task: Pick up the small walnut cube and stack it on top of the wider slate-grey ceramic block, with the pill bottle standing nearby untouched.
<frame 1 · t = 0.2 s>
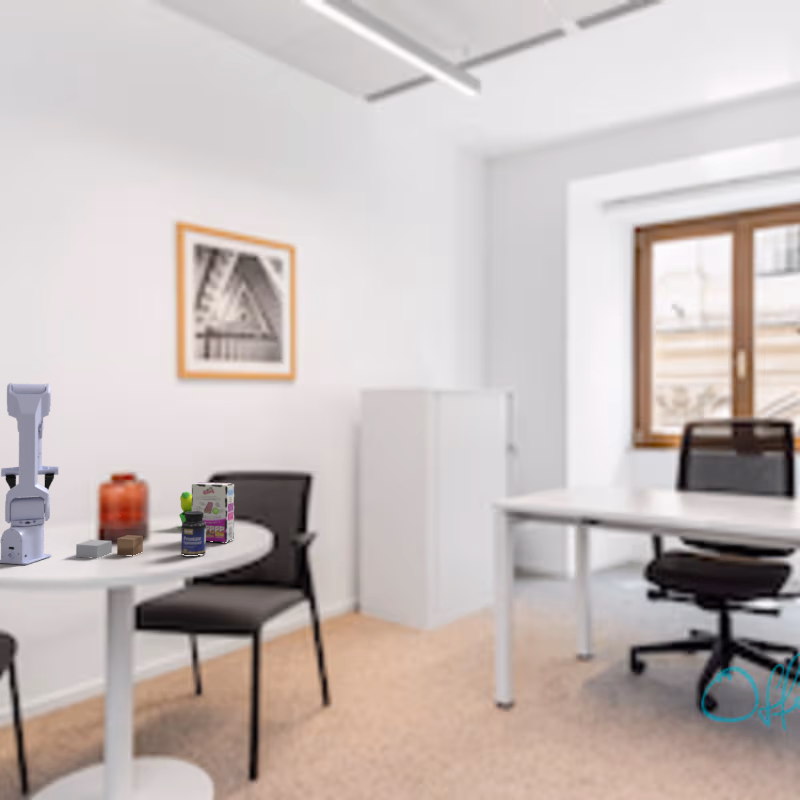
hand: (30, 499, 204), 11 cm above the table, tool pointing down, fingers open, 7 cm apart
pill bottle: (193, 555, 183), on the table
walnut cube: (130, 554, 183), on the table
grey block: (94, 556, 181), on the table
yellow green toy: (194, 528, 219), on the table
candy bar box: (212, 541, 201), on the table
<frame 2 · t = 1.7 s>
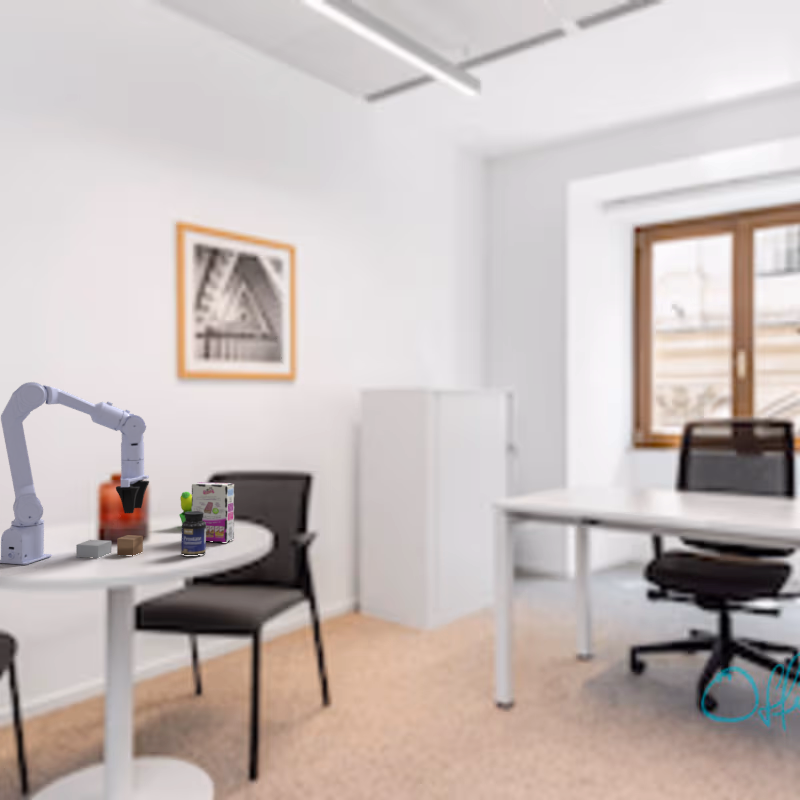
hand: (133, 510, 188), 10 cm above the table, tool pointing down, fingers open, 7 cm apart
nothing on the table moved.
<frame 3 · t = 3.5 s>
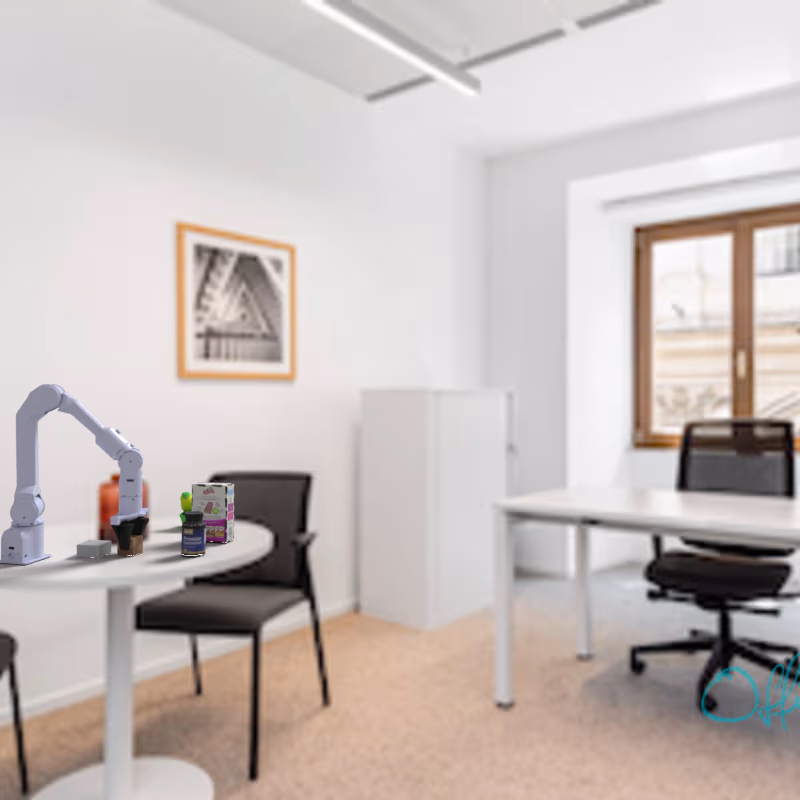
hand: (130, 547, 183), 2 cm above the table, tool pointing down, fingers closed on walnut cube, 4 cm apart
walnut cube: (130, 554, 183), on the table, touching gripper
everything else where it was.
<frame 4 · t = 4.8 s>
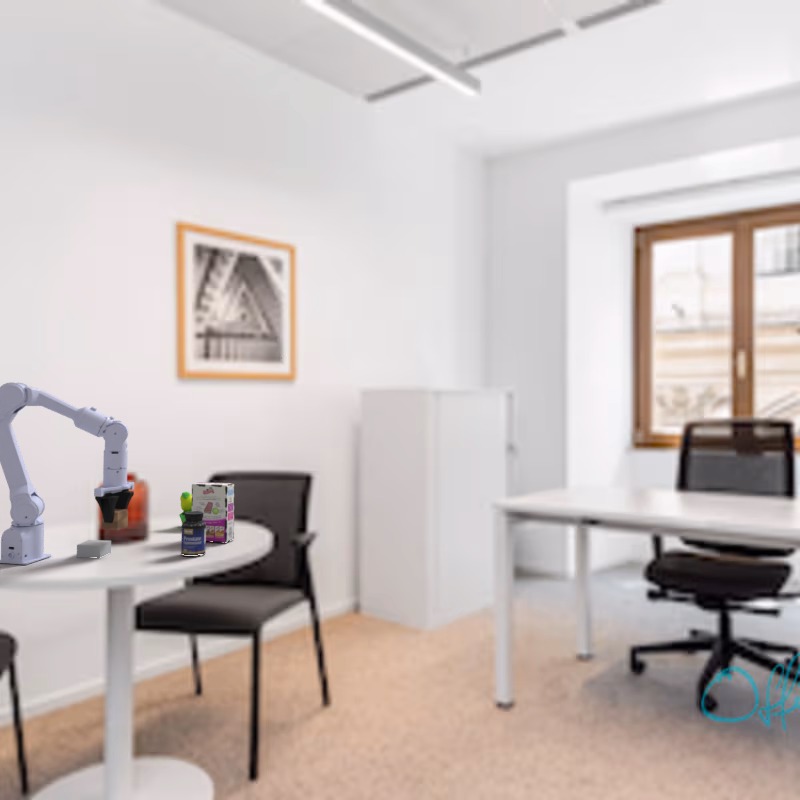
hand: (114, 520, 182), 9 cm above the table, tool pointing down, fingers closed on walnut cube, 4 cm apart
walnut cube: (114, 527, 182), point 7 cm above the table, touching gripper
everything else where it was.
when the fingers open (6 cm above the table, at t = 6.1 s): walnut cube stays where it is, resting on grey block.
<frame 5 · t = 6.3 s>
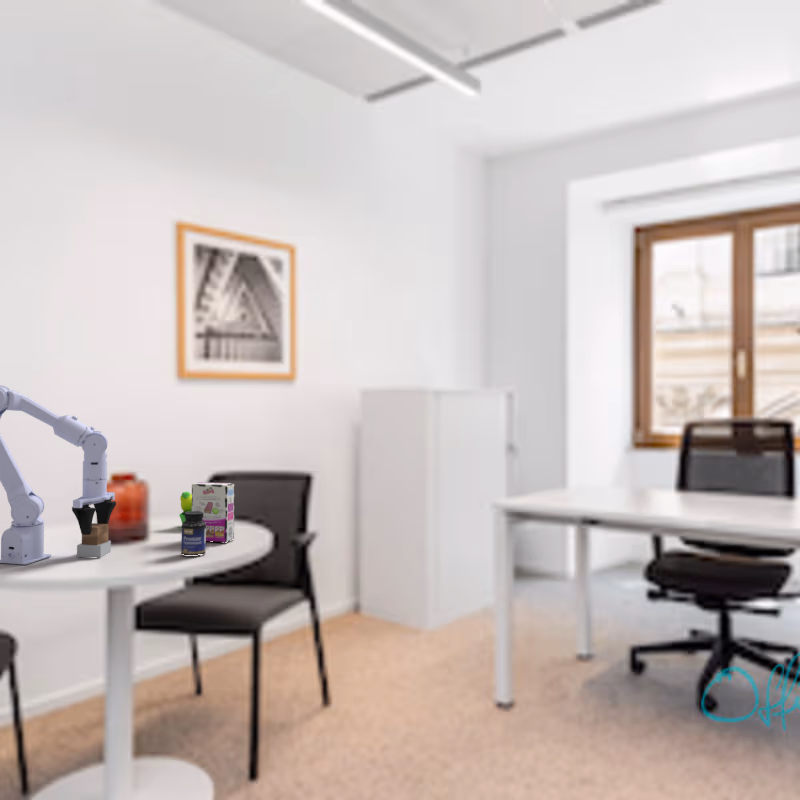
hand: (94, 531, 181), 6 cm above the table, tool pointing down, fingers open, 6 cm apart
walnut cube: (95, 542, 181), point 3 cm above the table, touching grey block
grey block: (94, 556, 181), on the table, touching walnut cube
everything else where it was.
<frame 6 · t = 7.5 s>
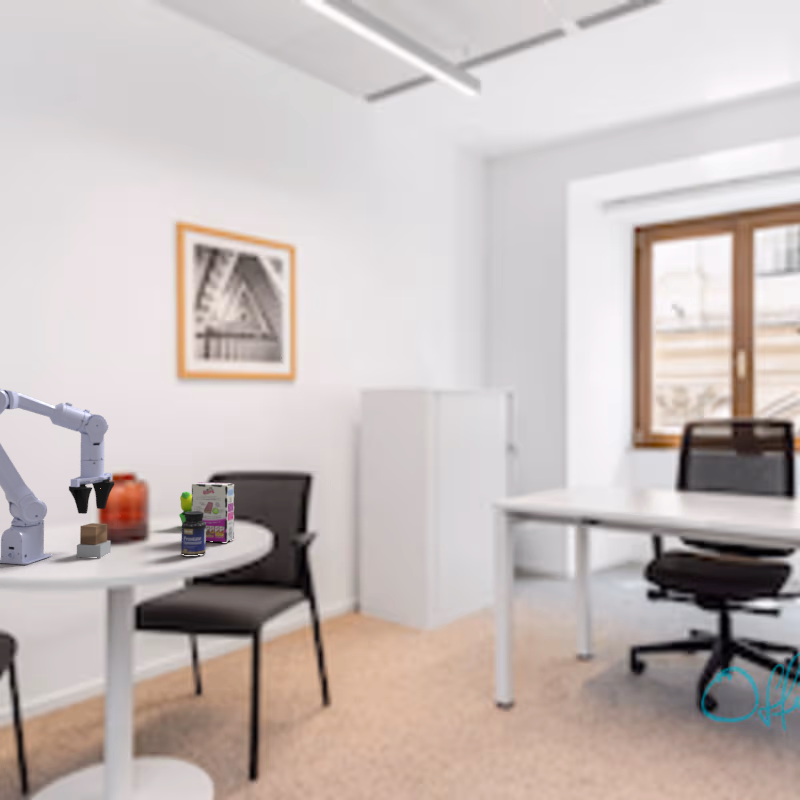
hand: (92, 510, 186), 10 cm above the table, tool pointing down, fingers open, 7 cm apart
nothing on the table moved.
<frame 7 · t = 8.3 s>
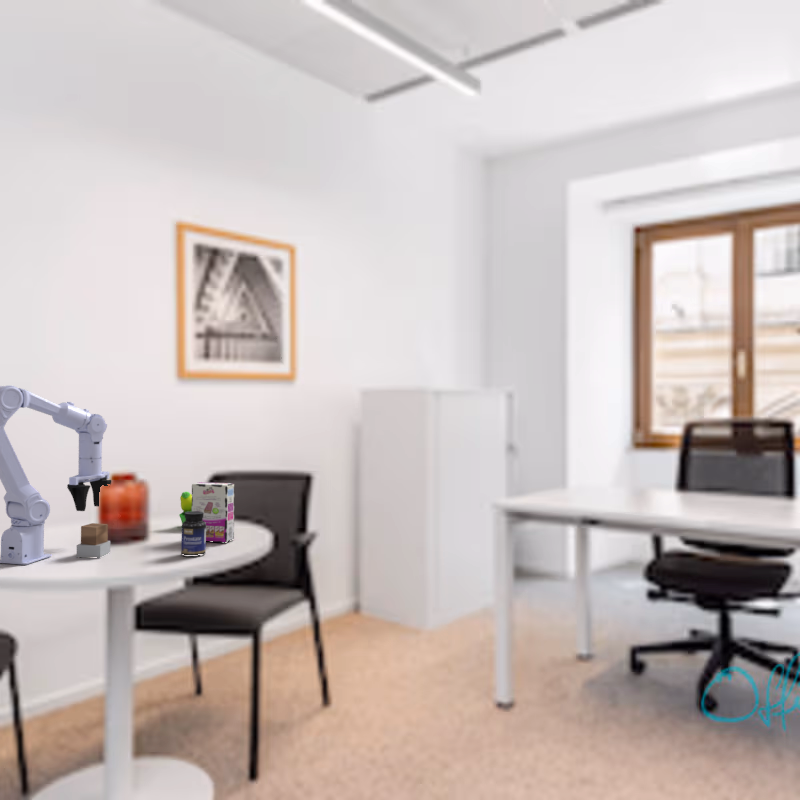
hand: (89, 508, 190), 10 cm above the table, tool pointing down, fingers open, 7 cm apart
nothing on the table moved.
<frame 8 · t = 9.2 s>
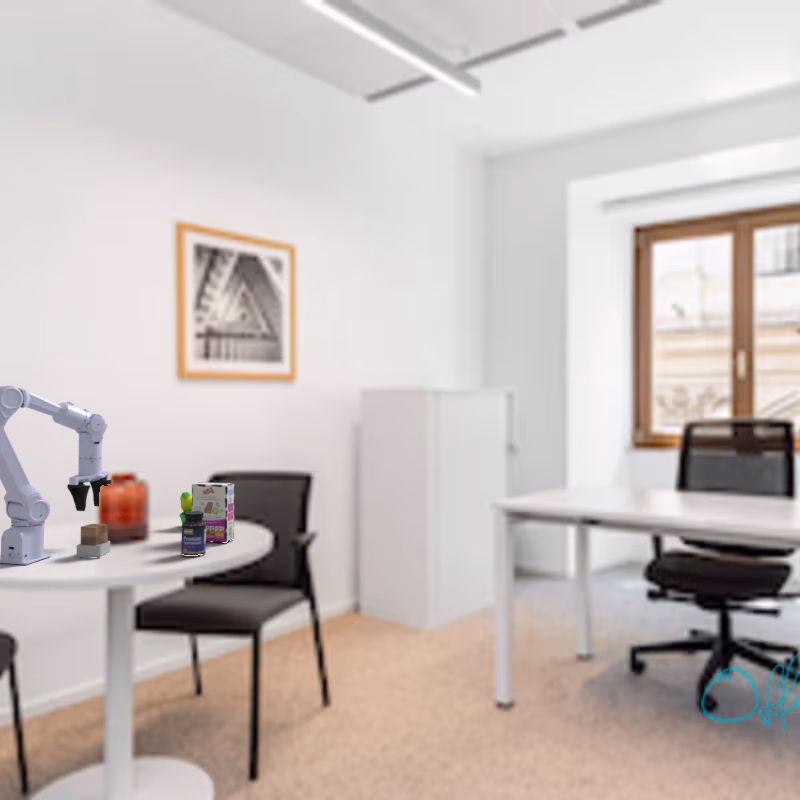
hand: (89, 508, 190), 10 cm above the table, tool pointing down, fingers open, 7 cm apart
nothing on the table moved.
at the end: walnut cube 0.2 cm off-centre on the grey block, point 3.5 cm above the grey block's base; walnut cube tilted 0°; the gripper is holding nothing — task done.
